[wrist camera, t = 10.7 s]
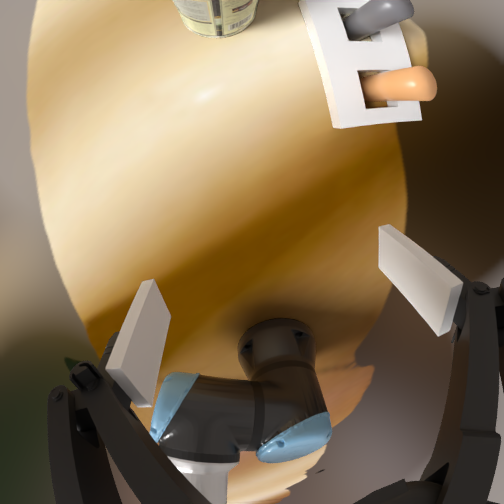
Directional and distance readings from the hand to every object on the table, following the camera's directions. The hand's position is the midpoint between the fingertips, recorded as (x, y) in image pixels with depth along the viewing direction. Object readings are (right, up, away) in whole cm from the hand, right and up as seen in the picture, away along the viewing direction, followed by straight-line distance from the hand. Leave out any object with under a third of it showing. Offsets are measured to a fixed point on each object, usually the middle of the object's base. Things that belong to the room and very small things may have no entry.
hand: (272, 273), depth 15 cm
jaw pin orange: (+16, +25, +16) cm, 33 cm away
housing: (+14, +29, +14) cm, 35 cm away
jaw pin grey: (+13, +33, +12) cm, 37 cm away
